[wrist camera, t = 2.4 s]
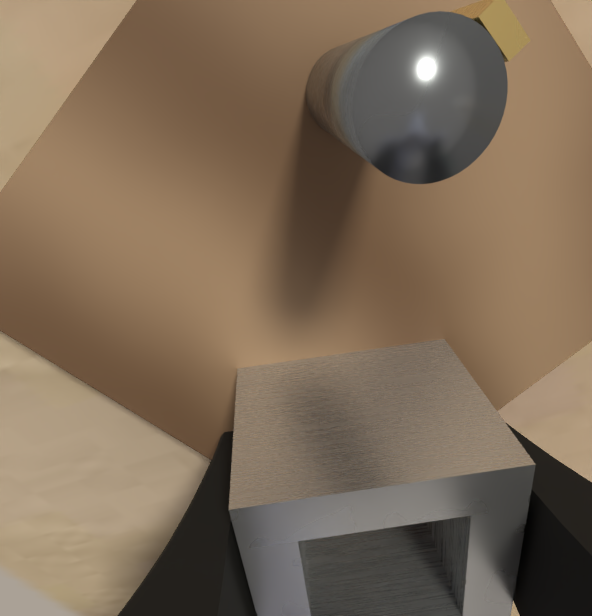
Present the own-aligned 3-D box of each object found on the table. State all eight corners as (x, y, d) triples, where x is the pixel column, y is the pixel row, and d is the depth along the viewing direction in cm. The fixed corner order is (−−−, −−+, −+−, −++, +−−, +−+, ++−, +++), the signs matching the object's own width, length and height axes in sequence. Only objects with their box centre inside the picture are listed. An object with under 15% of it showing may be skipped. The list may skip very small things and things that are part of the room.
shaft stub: (344, 152, 9) (418, 213, 5) (288, 93, 8) (320, 106, 4) (413, 80, 8) (557, 83, 4) (358, 12, 8) (467, -57, 4)
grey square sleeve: (439, 486, 13) (507, 636, 10) (267, 511, 13) (272, 673, 10) (444, 339, 11) (535, 464, 7) (237, 368, 11) (229, 509, 7)
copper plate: (326, 506, 15) (331, 533, 14) (-41, 270, 10) (-69, 288, 9) (670, 243, 11) (706, 256, 11) (346, -264, 7) (360, -314, 6)
